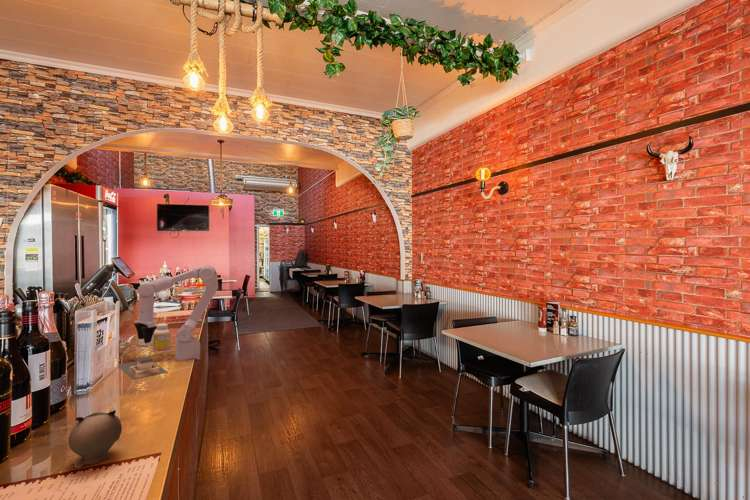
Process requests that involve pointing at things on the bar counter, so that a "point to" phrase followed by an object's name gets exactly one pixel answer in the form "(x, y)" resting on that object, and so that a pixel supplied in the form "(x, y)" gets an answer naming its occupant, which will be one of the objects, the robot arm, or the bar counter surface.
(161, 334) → the supplement bottle
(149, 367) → the plug
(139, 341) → the syrup box
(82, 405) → the bar counter surface
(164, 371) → the mat
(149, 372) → the frame
